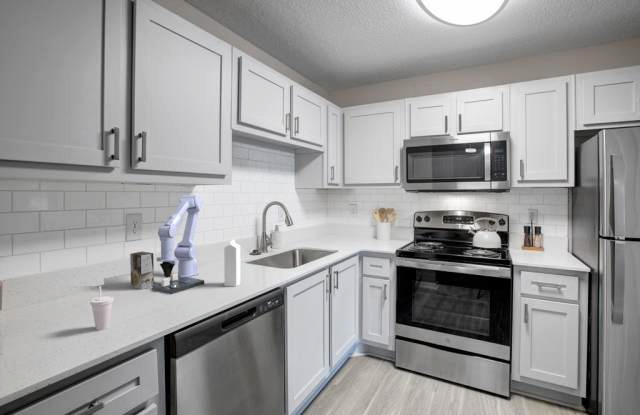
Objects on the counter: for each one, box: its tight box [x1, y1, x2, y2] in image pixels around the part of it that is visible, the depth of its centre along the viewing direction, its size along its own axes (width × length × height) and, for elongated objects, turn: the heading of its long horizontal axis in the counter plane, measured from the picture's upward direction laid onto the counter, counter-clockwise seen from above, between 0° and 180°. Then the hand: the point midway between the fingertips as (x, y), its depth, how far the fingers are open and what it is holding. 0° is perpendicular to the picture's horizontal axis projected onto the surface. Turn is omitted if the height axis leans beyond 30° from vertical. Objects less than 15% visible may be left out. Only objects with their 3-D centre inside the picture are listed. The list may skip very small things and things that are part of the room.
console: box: [151, 276, 205, 295], centre depth 154 cm, size 18×14×3 cm
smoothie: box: [90, 285, 114, 331], centre depth 107 cm, size 6×6×14 cm
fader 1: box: [161, 277, 170, 287], centre depth 148 cm, size 3×2×3 cm, turn 150°
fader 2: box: [169, 272, 179, 281], centre depth 157 cm, size 3×2×3 cm, turn 150°
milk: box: [223, 239, 241, 287], centre depth 158 cm, size 6×6×22 cm
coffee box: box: [129, 251, 155, 290], centre depth 154 cm, size 9×6×16 cm
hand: (167, 277), depth 160 cm, fingers closed
